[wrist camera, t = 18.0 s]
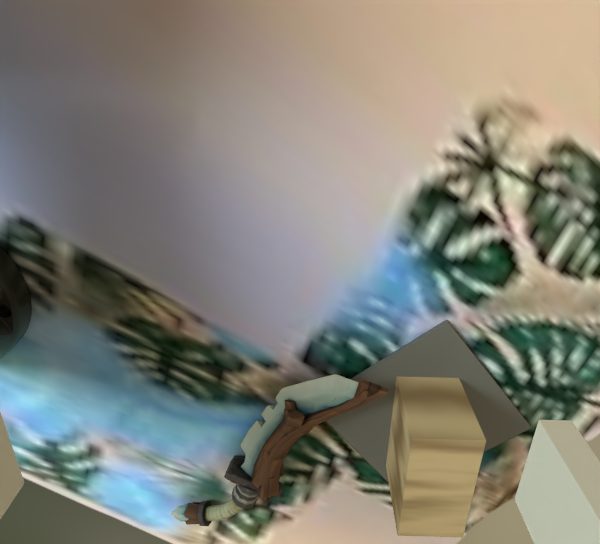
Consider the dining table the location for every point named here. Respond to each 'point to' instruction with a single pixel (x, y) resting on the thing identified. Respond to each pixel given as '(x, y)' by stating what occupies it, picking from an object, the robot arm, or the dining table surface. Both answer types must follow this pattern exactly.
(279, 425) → the decorative knife
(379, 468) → the charcoal mat
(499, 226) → the dining table surface
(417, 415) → the beech block
